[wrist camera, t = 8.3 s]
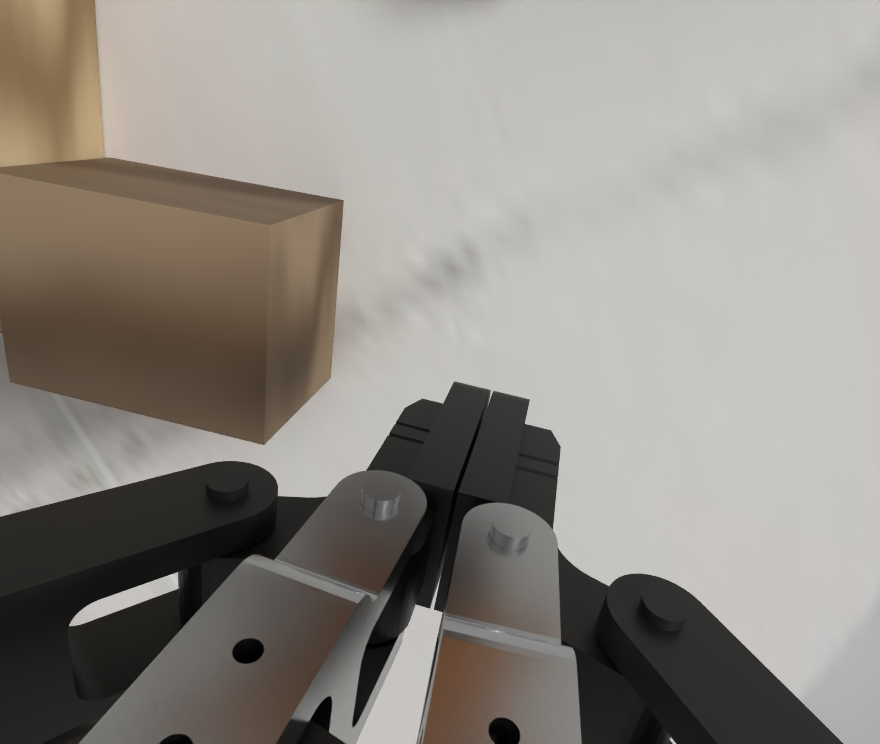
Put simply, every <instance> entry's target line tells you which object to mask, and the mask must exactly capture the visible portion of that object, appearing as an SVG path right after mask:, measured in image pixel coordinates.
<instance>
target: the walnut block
mask: <svg viewBox="0 0 880 744" xmlns="http://www.w3.org/2000/svg"><path fill="white" fill-rule="evenodd" d="M343 202H344V200H339V199H333V198H328V197H322V196H317V195H311V194H306V193H300V192H295V191H290V190H284V189H279V188H273V187H268V186H262V185H257V184H251V183H246V182H240V181H235V180H230V179H224V178H219V177H213V176H208V175H202V174H197V173H191V172H186V171H180V170H175V169H169V168H164V167H159V166H153V165H148V164H142V163H137V162H131V161H126V160H120V159H115V158H100V159H88V160H77V161H65V162H53V163H41V164H30V165H18V166H6V167H0V319H1V326H2V332H3V338H4V344H5V351H6V357H7V363H8V370H9V376H10V382H12V383H16V384H20V385H24V386H28V387H33V388H37V389H41V390H45V391H49V392H53V393H57V394H61V395H65V396H69V397H73V398H77V399H81V400H85V401H89V402H93V403H97V404H101V405H105V406H109V407H113V408H117V409H121V410H125V411H129V412H133V413H137V414H141V415H145V416H149V417H153V418H158V419H162V420H166V421H170V422H174V423H178V424H182V425H186V426H190V427H194V428H198V429H202V430H206V431H210V432H214V433H218V434H222V435H226V436H230V437H234V438H238V439H242V440H246V441H250V442H254V443H258V444H262V445H264V444H265V443H266V442H267V441H268V440H269V439H270V438H271V437H272V436H273V435H274V434H275V433H276V432H277V431H278V430H279V429H280V428H281V427H282V426H283V425H284V424H285V423H286V422H287V421H288V420H289V419H290V418H291V417H292V416H293V415H294V414H295V413H296V412H297V411H298V410H299V409H300V408H301V407H302V406H303V405H304V404H305V403H306V402H307V401H308V400H309V399H310V398H311V397H312V396H313V395H314V394H315V393H316V392H317V391H318V390H319V389H320V388H321V387H322V386H323V385H324V384H325V383H326V382H327V381H328V380H329V379H330V378H331V365H332V351H333V338H334V324H335V310H336V297H337V283H338V270H339V256H340V242H341V229H342V215H343Z"/></svg>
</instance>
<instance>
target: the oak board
mask: <svg viewBox="0 0 880 744" xmlns="http://www.w3.org/2000/svg"><path fill="white" fill-rule="evenodd" d="M100 158H104V149H103V133H102V116H101V100H100V84H99V67H98V51H97V35H96V18H95V2H94V0H0V167H6V166H18V165H30V164H41V163H53V162H65V161H77V160H88V159H100ZM0 333H3V332H2V326H1V319H0Z"/></svg>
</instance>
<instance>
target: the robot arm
mask: <svg viewBox="0 0 880 744" xmlns="http://www.w3.org/2000/svg"><path fill="white" fill-rule="evenodd" d="M489 398H490V390H488V389H484V388H479V387H475V386H471V385H467V384H463V383H459V382H454V383H453V385H452V387H451V389H450V391H449V393H448V395H447V397H446V399H445V401H444V403H443V404H442V403H438V402H434V401H430V400H426V399H421V400H419V401H417V402H415V403H413V404H412V405H410V406H408V407H406V408H405V409H404V410H403V412H402V414H401V415H400V417H399V419H398V420H397V422H396V424H395V425H394V427H393V428H392V430H391V431H390V434H389V436H387V438H386V440H385V441H384V443H383V444H382V446H381V448H380V449H379V451H378V453H377V454H376V456H375V457H374V459H373V461H372V462H371V464H370V465H369V467H368V469H367V470H366V471H361V472H357V473H354V474H351V475H349V476H347V477H345V478H344V479H342V480H341V481H340V482H339V483H338V484H337V485H336V486H335V488H334V489H333V490H332V491H331V492H330V494H329V495H328V496H327V497H318V498H304V497H283V496H278V485H277V482H276V480H275V478H274V477H273V476H272V475H271V474H270V473H269V472H268V471H267V470H265V469H263V468H261V467H259V466H257V465H254V464H250V463H245V462H238V461H223V462H215V463H210V464H206V465H202V466H198V467H194V468H190V469H186V470H183V471H179V472H175V473H171V474H167V475H163V476H159V477H155V478H151V479H147V480H143V481H139V482H135V483H131V484H128V485H124V486H120V487H116V488H112V489H108V490H104V491H100V492H96V493H92V494H88V495H84V496H80V497H76V498H73V499H69V500H65V501H61V502H57V503H53V504H49V505H45V506H41V507H37V508H33V509H29V510H25V511H21V512H17V513H14V514H10V515H6V516H2V517H0V744H356V742H357V740H358V738H359V735H360V733H361V731H362V729H363V727H364V724H365V722H366V720H367V718H368V716H369V714H370V711H371V709H372V707H373V705H374V703H375V701H376V698H377V696H378V694H379V692H380V690H381V687H382V685H383V683H384V681H385V679H386V677H387V674H388V672H389V670H390V668H391V666H392V664H393V661H394V659H395V657H396V655H397V653H398V650H399V648H400V646H401V643H402V639H403V634H404V629H405V628H406V627H407V625H408V623H409V621H410V619H411V616H412V613H413V610H414V607H415V604H416V605H420V606H423V607H426V608H430V607H431V603H432V600H433V597H434V594H435V591H436V588H437V585H438V582H439V579H440V583H439V588H438V592H437V597H436V602H435V607H434V610H437V611H441V612H443V614H442V619H441V623H440V628H439V633H438V637H437V641H436V646H435V651H434V655H433V660H432V665H431V671H430V676H429V681H428V686H427V691H426V696H425V702H424V707H423V712H422V717H421V722H420V728H419V733H418V738H417V743H416V744H672V742H671V741H670V738H671V737H672V739H673V740H674V741H675V742H676V744H843V743H842V742H841V741H840V740H839V739H838V738H837V737H836V736H835V735H834V734H833V733H832V732H831V731H830V730H829V729H828V728H827V727H826V726H825V725H824V724H823V723H822V722H821V721H820V720H819V719H818V718H817V717H816V716H815V715H814V714H813V713H812V712H811V711H810V710H809V709H808V708H807V707H806V706H805V705H804V704H803V703H802V702H801V701H800V700H799V699H798V698H797V697H796V696H795V695H794V694H793V693H792V692H791V691H790V690H789V689H788V688H787V687H786V686H785V685H784V684H783V683H782V682H781V681H780V680H778V679H777V678H776V677H775V676H774V675H773V674H772V673H771V672H770V671H769V670H768V669H767V668H766V667H765V666H764V665H763V664H762V663H761V662H760V661H759V660H758V659H757V658H756V657H755V656H754V655H753V654H752V653H751V652H750V651H749V650H748V649H747V648H746V647H745V646H744V645H743V644H742V643H741V642H740V641H739V640H738V639H737V638H736V637H735V636H734V635H733V634H732V633H731V632H730V631H729V630H728V629H727V628H726V627H725V626H724V625H723V624H722V623H721V622H720V621H719V620H718V619H717V618H716V617H715V616H714V615H713V614H712V613H711V612H710V611H709V610H708V609H707V608H706V607H705V606H704V605H703V604H702V603H701V602H700V601H698V600H697V599H696V598H695V597H694V596H693V595H692V594H690V593H689V592H687V591H686V590H685V589H683V588H681V587H680V586H678V585H676V584H674V583H672V582H670V581H668V580H665V579H663V578H660V577H656V576H652V575H647V574H629V575H624V576H622V577H619V578H618V579H616V580H615V581H614V582H613V583H612V584H611V585H610V587H609V586H607V585H605V584H603V583H602V582H600V581H598V580H596V579H594V578H592V577H590V576H588V575H587V574H585V573H583V572H582V571H580V570H579V569H578V568H576V567H575V566H573V565H572V564H571V563H570V562H569V561H568V560H567V559H566V558H565V557H564V556H563V555H562V553H561V552H560V550H559V549H558V543H557V538H556V535H555V533H554V531H553V522H554V511H555V501H556V490H557V477H558V469H559V466H558V465H559V459H560V448H561V447H560V445H559V443H558V442H557V440H556V438H555V437H554V435H553V433H552V431H551V430H547V429H543V428H539V427H535V426H531V425H527V424H525V419H526V415H527V410H528V405H529V401H530V400H529V399H525V398H521V397H517V396H513V395H509V394H505V393H500V392H496V391H493V393H492V396H491V399H490V402H489ZM488 403H489V405H488ZM487 407H488V408H487ZM176 572H178V585H179V589H177V590H174V591H171V592H169V593H166V594H163V595H161V596H158V597H155V598H152V599H150V600H147V601H144V602H142V603H139V604H136V605H133V606H131V607H128V608H125V609H123V610H120V611H117V612H114V613H112V614H109V615H106V616H104V617H101V618H98V619H95V620H93V621H90V622H87V623H85V624H81V625H78V626H69V624H70V622H71V621H72V619H73V618H74V616H75V615H76V614H77V613H78V612H79V611H80V610H82V609H83V608H84V607H86V606H87V605H89V604H91V603H92V602H94V601H97V600H99V599H102V598H105V597H108V596H111V595H113V594H116V593H119V592H122V591H125V590H128V589H131V588H133V587H136V586H139V585H142V584H145V583H148V582H150V581H153V580H156V579H159V578H162V577H165V576H168V575H170V574H173V573H176ZM440 576H441V578H440Z"/></svg>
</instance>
